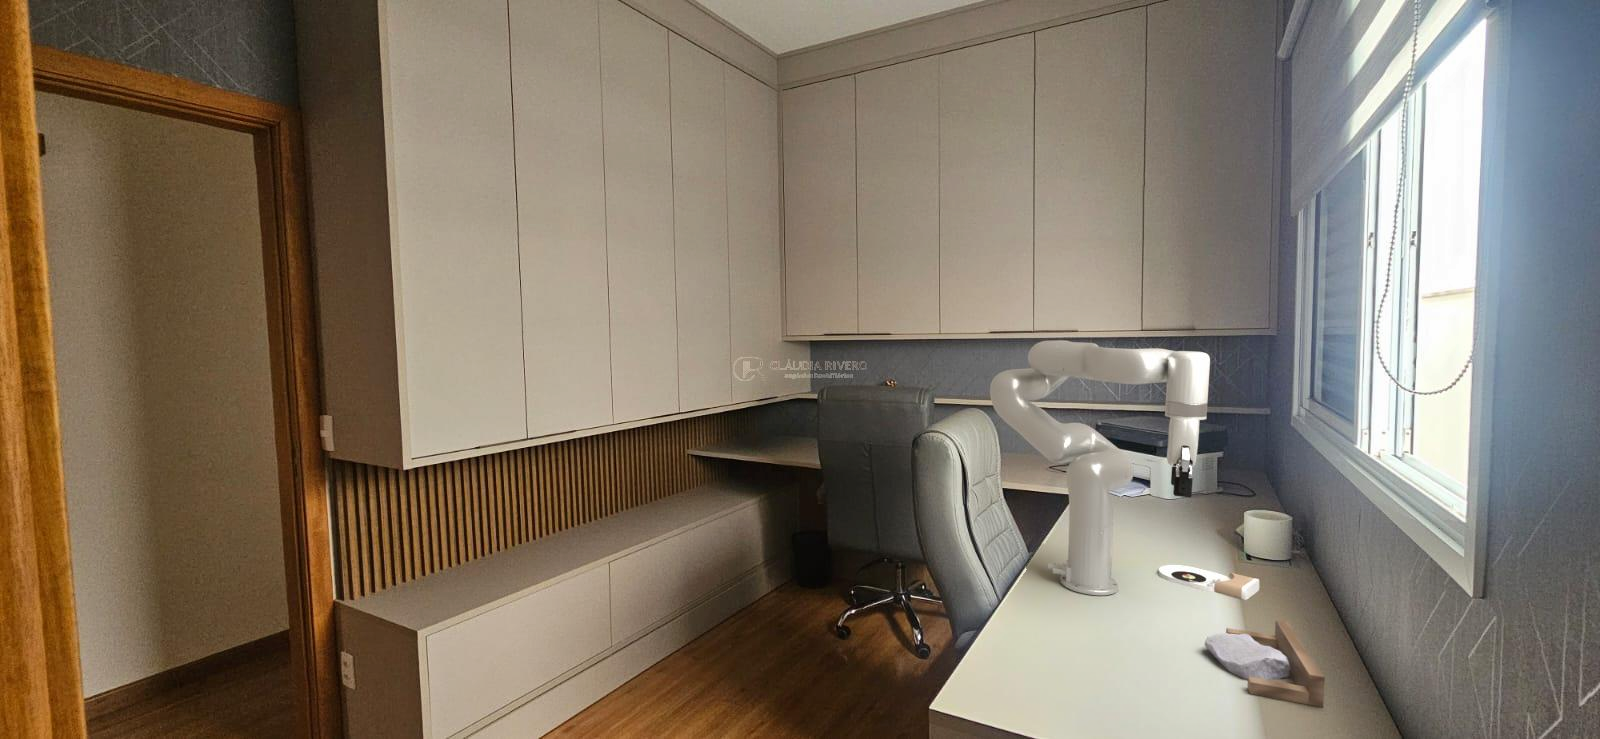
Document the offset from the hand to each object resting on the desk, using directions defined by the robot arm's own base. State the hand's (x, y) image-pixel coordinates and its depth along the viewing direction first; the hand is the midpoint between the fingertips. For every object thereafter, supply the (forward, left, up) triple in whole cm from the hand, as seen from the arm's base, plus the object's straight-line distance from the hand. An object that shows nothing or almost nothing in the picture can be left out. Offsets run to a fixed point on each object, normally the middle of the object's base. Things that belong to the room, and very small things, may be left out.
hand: (1180, 490), depth 141 cm
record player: (+8, +24, -28) cm, 38 cm away
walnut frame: (+13, -19, -27) cm, 35 cm away
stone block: (+9, -18, -28) cm, 34 cm away
